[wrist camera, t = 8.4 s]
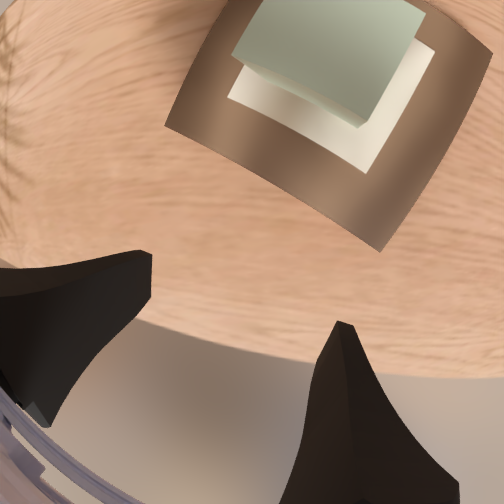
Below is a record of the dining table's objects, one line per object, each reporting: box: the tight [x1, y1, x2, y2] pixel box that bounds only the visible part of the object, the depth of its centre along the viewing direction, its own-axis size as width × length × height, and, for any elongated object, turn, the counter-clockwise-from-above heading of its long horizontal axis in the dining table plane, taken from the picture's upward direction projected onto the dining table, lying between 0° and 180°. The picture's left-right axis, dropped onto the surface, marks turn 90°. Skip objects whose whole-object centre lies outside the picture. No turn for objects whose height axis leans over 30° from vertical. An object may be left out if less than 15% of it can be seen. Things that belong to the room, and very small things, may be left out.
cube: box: [231, 0, 426, 129], centre depth 9 cm, size 5×5×5 cm
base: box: [164, 0, 493, 252], centre depth 12 cm, size 14×14×3 cm
